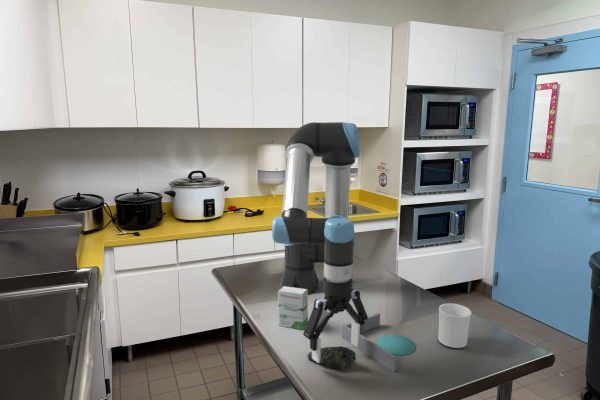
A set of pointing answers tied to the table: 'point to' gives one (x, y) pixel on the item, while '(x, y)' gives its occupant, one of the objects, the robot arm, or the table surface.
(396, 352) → the teal mat
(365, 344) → the grey angle bracket
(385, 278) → the table surface
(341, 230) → the robot arm
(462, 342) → the mug
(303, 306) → the ink box
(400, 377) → the table surface
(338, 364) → the stone
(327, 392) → the table surface
